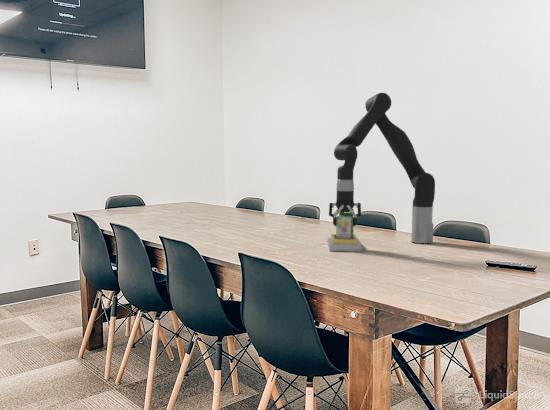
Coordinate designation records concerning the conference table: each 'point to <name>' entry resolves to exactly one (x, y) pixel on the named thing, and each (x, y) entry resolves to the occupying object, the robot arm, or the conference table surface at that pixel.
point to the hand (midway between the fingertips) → (344, 225)
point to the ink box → (344, 225)
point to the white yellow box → (344, 244)
